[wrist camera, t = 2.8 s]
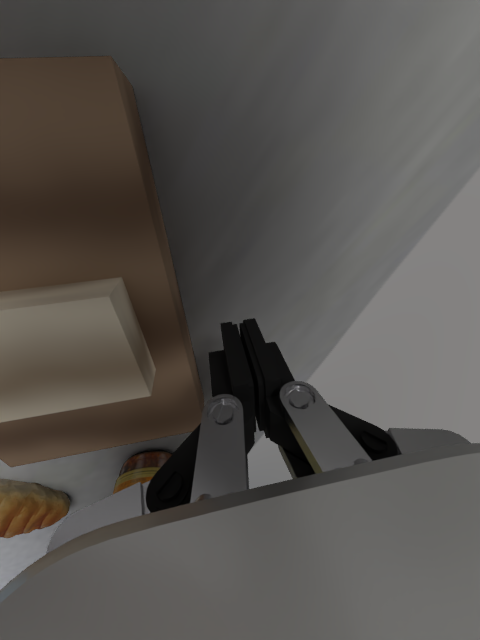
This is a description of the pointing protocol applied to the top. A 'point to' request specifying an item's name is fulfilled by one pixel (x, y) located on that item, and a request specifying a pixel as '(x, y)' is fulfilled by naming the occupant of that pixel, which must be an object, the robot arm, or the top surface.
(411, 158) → the top surface
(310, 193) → the top surface
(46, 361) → the birch tile
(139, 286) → the walnut stand
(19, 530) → the pastry
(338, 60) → the top surface
